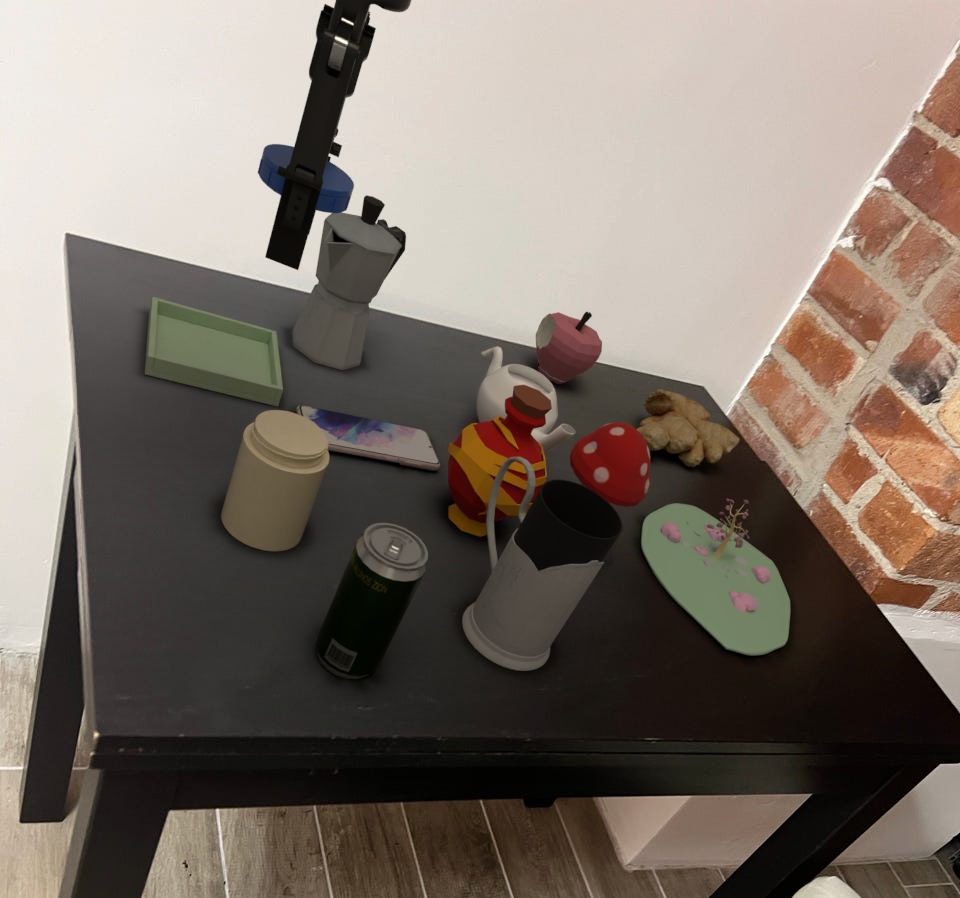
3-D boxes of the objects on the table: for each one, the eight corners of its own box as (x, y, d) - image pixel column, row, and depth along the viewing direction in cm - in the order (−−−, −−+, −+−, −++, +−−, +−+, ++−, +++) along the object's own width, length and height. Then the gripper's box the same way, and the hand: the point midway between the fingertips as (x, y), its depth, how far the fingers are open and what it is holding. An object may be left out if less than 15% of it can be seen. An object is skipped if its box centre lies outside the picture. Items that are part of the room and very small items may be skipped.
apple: (519, 351, 130) (549, 287, 124) (572, 370, 133) (604, 308, 127) (528, 385, 123) (561, 319, 117) (584, 404, 126) (619, 341, 120)
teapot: (494, 400, 116) (525, 336, 110) (567, 502, 105) (605, 436, 99) (430, 392, 110) (459, 323, 105) (500, 498, 99) (536, 428, 94)
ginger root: (707, 424, 136) (738, 385, 130) (716, 502, 127) (750, 465, 121) (614, 390, 132) (641, 348, 125) (616, 469, 123) (646, 428, 117)
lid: (351, 193, 77) (357, 172, 76) (343, 223, 72) (350, 201, 71) (265, 157, 75) (271, 134, 74) (251, 184, 70) (256, 161, 68)
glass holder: (493, 677, 78) (572, 547, 69) (417, 564, 85) (480, 433, 76) (566, 663, 84) (648, 541, 74) (489, 559, 90) (556, 435, 81)
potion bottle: (410, 483, 94) (465, 357, 85) (493, 492, 100) (554, 374, 91) (445, 552, 88) (509, 424, 79) (531, 557, 94) (600, 438, 85)
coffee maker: (319, 379, 102) (370, 224, 91) (262, 336, 103) (305, 179, 92) (395, 357, 113) (448, 217, 102) (342, 318, 115) (389, 176, 104)
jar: (221, 543, 76) (249, 447, 70) (220, 490, 81) (245, 396, 75) (305, 557, 79) (338, 467, 73) (299, 506, 84) (330, 417, 78)
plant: (834, 672, 102) (888, 616, 97) (688, 648, 94) (737, 585, 88) (746, 530, 119) (788, 476, 113) (614, 499, 110) (652, 438, 105)
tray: (144, 374, 89) (148, 355, 88) (148, 314, 97) (152, 296, 96) (278, 407, 94) (283, 389, 93) (271, 347, 102) (276, 331, 101)
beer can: (368, 692, 71) (422, 581, 64) (304, 664, 70) (351, 549, 63) (385, 649, 75) (437, 541, 68) (324, 623, 74) (371, 510, 67)
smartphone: (296, 402, 95) (426, 429, 102) (293, 410, 95) (424, 436, 102) (307, 441, 90) (443, 466, 97) (304, 449, 91) (439, 473, 98)
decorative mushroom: (523, 507, 100) (585, 391, 91) (591, 527, 103) (659, 417, 94) (535, 564, 93) (604, 445, 84) (608, 585, 96) (683, 472, 87)
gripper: (334, -114, 68) (261, 187, 83) (304, -88, 54) (222, 273, 68) (428, -66, 70) (341, 220, 85) (424, -28, 56) (319, 310, 70)
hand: (288, 243), depth 76 cm, fingers closed on lid, 7 cm apart
